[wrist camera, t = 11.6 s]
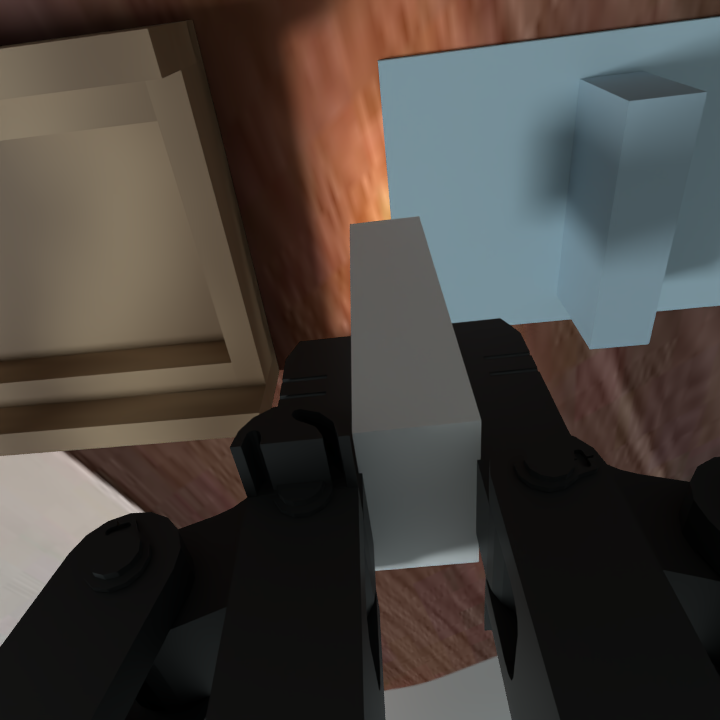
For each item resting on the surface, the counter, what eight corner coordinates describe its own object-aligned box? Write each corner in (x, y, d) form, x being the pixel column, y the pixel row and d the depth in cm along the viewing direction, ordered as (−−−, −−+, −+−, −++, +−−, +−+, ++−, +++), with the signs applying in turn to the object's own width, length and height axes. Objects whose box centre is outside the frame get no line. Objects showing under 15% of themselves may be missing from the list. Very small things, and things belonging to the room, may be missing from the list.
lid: (399, 323, 19) (407, 392, 16) (377, 57, 15) (381, 80, 11) (810, 284, 18) (907, 349, 15) (932, -15, 14) (1114, -14, 10)
